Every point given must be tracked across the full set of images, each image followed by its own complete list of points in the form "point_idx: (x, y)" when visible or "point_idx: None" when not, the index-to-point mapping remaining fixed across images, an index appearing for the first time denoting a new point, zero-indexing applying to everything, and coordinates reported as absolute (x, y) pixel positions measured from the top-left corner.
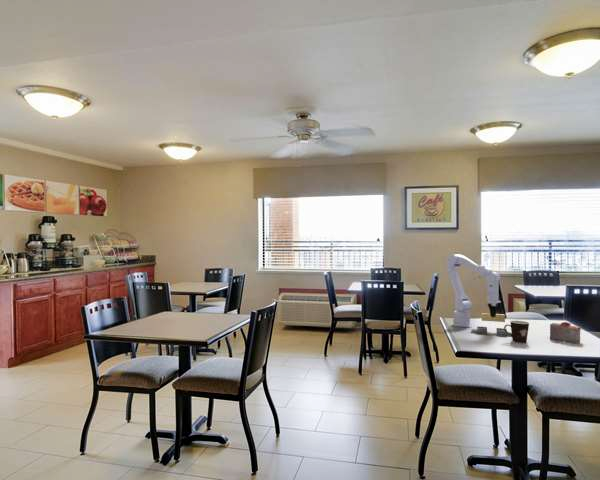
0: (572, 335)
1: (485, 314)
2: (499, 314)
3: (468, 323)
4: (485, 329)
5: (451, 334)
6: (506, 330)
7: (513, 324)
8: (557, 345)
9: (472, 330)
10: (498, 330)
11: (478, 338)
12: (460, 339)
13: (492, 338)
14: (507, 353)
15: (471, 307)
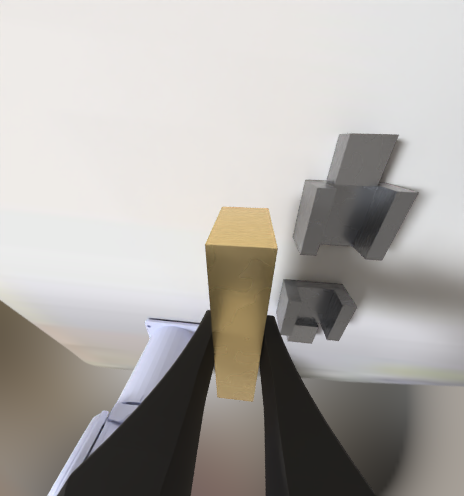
0: None
1: (254, 382)
2: (244, 303)
3: (186, 342)
4: (352, 311)
5: (356, 380)
6: (333, 187)
7: None
8: None
9: (311, 338)
10: (385, 251)
11: (433, 323)
12: (446, 371)
13: (440, 272)
14: None
15: (98, 432)
